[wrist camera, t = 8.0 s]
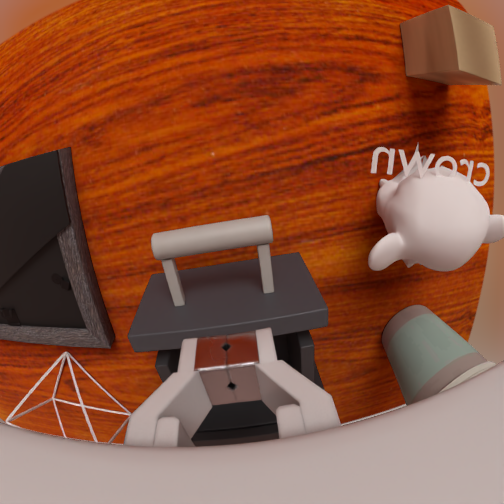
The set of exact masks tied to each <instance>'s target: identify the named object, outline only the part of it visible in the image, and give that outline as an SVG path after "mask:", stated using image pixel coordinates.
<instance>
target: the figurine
mask: <svg viewBox="0 0 504 504" xmlns="http://www.w3.org/2000/svg"><path fill="white" fill-rule="evenodd" d="M398 150H399V149H398ZM382 151H384V152H386V153H387V154H388V155H389V163H388V171H387V174H391V175H392V170H393V162H394V154H395V149H390V152H389V150H388V149H386V148H384V147H379V148H377V149H376V150H375V151H374V153H373V158H372V168H371V173H376V169H377V160H378V154H379V153H380V152H382ZM399 153H400V157H401V161H402V165H403V168H404V170H403V171H402V172H400V173H399V174H398V175H397V176H396V177H395V178H393V179H392V180H389V181H387V180H386V179H381V180H380V181H379V185H380V187H381V188H380V189H379V191H378V194H377V199H376V205H377V213H378V214H379V215H380V217H381V218H382V219H383V222H384V224H385V227H386V230H387V232H388V235H386V236H385V237H383V238H382V239H381V240H380V241H378V242H377V243H376V245H375V246H374V247H373V248H372V250H371V252H370V254H369V257H368V265H369V267H370V268H371V269H372V270H376V271H378V270H382V269H385V268H386V267H388V266H389V265H391V264H392V263H393V262H395V261H397V260H400V259H402V260H403V261H404V263H405V264H406V266H407V267H408V268H410V267H411V266H413V264H415V263H419V264H420V265H423V266H425V267H427V268H429V269H432V270H437V271H452V270H455V269H457V268H459V267H461V266H462V265H464V264H465V263H466V262H467V261H468V260H469V259H470V258H471V257H472V256H473V255H474V254H475V253H476V251H477V250H478V249H479V247H480V246H481V244H482V243H494V242H496V241H499V240H500V239H502V238H503V237H504V215H490V211H489V207H488V204H487V202H486V201H485V200H484V198H483V196H482V195H481V194H480V193H479V192H478V191H477V189H476V188H475V187H474V186H473V184H472V183H471V182H470V178H471V173H472V168H473V163H474V161H470V165H469V164H468V161H467V160H466V159H462V160H461V161H460V163H461V165H463V164H467V166H468V175H467V177H466V176H464V175H462V174H460V173H459V172H456V171H457V164H456V161H455V160H454V159H453V158H452V157H450V156H443V157H441V158H440V159H439V160H438V161H437V163H436V165H435V168H431V169H428V166H429V165H430V163H431V161H432V159H433V158H434V156H435V154H430V156H429V158H428V160H427V159H426V156H424V158H423V156H422V157H421V158H420V154H419V152H418V144H417V148H416V151H415V154H414V156H413V158H412V159H411V161H410V163H409V165H407V161H406V157H405V154H404V150H399ZM422 158H423V164H422V163H421V159H422ZM445 160H448V161H450V162H451V163H452V165H453V170H451V169H449V168H446V167H444V166H441V167H440V164H441V163H442V162H443V161H445ZM439 167H440V168H439ZM479 167H484V168H485V170H486V177H485V179H484V180H483V181H482V182H477V181H476V180H474V185H476V186H482V185H484V184H485V183H486V182H487V181H488V178H489V167H488V166H487V164H485V163H478V166H477V168H479Z"/></svg>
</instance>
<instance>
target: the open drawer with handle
mask: <svg viewBox="0 0 504 504" xmlns="http://www.w3.org/2000/svg"><path fill="white" fill-rule="evenodd" d="M272 242H273V233H272V226H271V221H270V217H269V216H268V215H265V216H258V217H251V218H245V219H238V220H232V221H225V222H219V223H213V224H207V225H201V226H195V227H189V228H183V229H177V230H171V231H165V232H160V233H154V234H153V235H152V239H151V245H152V251H153V254H154V257H155V258H156V259H157V260H162V265H163V268H164V272H165V273H160V274H153V275H152V276H151V278H150V280H149V283H148V285H147V288H146V290H145V292H144V295H143V297H142V300H141V302H140V305H139V307H138V310H137V312H136V315H135V318H134V320H133V323H132V325H131V328H130V331H129V333H128V339H129V341H130V343H131V345H132V347H133V349H134V351H135V352H145V351H158V355H157V359H156V364H155V367H156V369H157V372H158V374H159V376H160V378H161V380H162V382H163V383H164V382H165V381H166V380H167V379H168V378H169V377H170V376H171V375H172V374H173V373H177V371H178V365H179V358H180V352H181V346H182V341H183V340H184V339H189V338H198V337H208V336H218V335H227V334H234V333H241V332H248V331H254V330H255V331H256V330H258V329H264V328H269V327H270V328H271V331H272V336H273V341H274V346H275V351H276V356H277V360H283V361H284V362H286V363H287V364H288V365H290V366H291V367H292V368H294V369H295V370H296V371H298V372H299V373H301V374H302V375H303V376H305V377H306V378H307V379H309V380H310V381H312V382H313V383H314V343H313V340H312V338H311V335H310V332H309V330H311V329H316V328H321V327H326V326H328V307H327V305H326V303H325V301H324V299H323V298H322V296H321V294H320V292H319V290H318V288H317V286H316V284H315V282H314V280H313V278H312V276H311V274H310V272H309V271H308V269H307V267H306V265H305V263H304V261H303V259H302V257H301V255H300V254H299V252H297V253H291V254H284V255H278V256H271V257H270V248H269V243H272ZM253 245H257V251H258V258H259V259H252V260H246V261H239V262H233V263H226V264H219V265H213V266H206V267H200V268H193V269H186V270H180V271H178V270H177V266H176V263H175V259H174V258H176V257H182V256H189V255H195V254H202V253H208V252H214V251H221V250H227V249H234V248H240V247H247V246H253ZM274 424H277V417H276V415H275V414H274V413H273V412H272V411H271V410H270V409H269V408H268V407H267V406H266V404H265V403H264V402H263V401H262V400H256V401H247V402H236V403H229V404H221V405H212V408H211V410H210V411H209V413H208V414H207V416H206V417H205V419H204V420H203V422H202V423H201V425H200V426H199V428H198V429H197V431H196V432H195V433H201V432H216V431H227V430H237V429H246V428H254V427H261V426H268V425H274Z"/></svg>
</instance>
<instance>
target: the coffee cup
mask: <svg viewBox="0 0 504 504" xmlns="http://www.w3.org/2000/svg"><path fill="white" fill-rule="evenodd" d="M382 344H383V347H384V349H385V352H386V354H387V356H388V359H389V361H390V364H391V366H392V369H393V371H394V374H395V376H396V379H397V381H398V384H399V386H400V389H401V391H402V394H403V397H404V399H405V402H406V405H410V404H413V403H415V402H418V401H421V400H423V399H426V398H428V397H431V396H433V395H435V394H438V393H440V392H442V391H445V390H447V389H449V388H451V387H454V386H456V385H458V384H460V383H462V382H464V381H466V380H468V379H470V378H472V377H474V376H476V375H478V374H480V373H482V372H484V371H486V370H488V369H490V368H491V367H493V366H495V365H496V363H495V362H492V361H487V360H486V359H485V358H484V357H483V356H482V355H481V354H480V353H479V352H478V351H476V350H475V349H474V348H473V347H472V346H471V345H470V344H469V343H468V342H466V341H465V340H464V339H463V338H462V337H461V336H460V335H458V334H457V333H456V332H455V331H454V330H453V329H451V328H450V327H449V326H448V325H447V324H446V323H444V322H443V321H442V320H441V319H440V318H439V317H437V316H436V315H435V314H434V313H433V312H431V311H430V310H429V309H428V308H426V307H425V306H423V305H413V306H409V307H407V308H405V309H403V310H401V311H400V312H398V313H397V314H396V315H395V316H394V317H393V318H392V319H391V320H390V321H389V322H388V324H387V325H386V327H385V329H384V331H383V334H382Z"/></svg>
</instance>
